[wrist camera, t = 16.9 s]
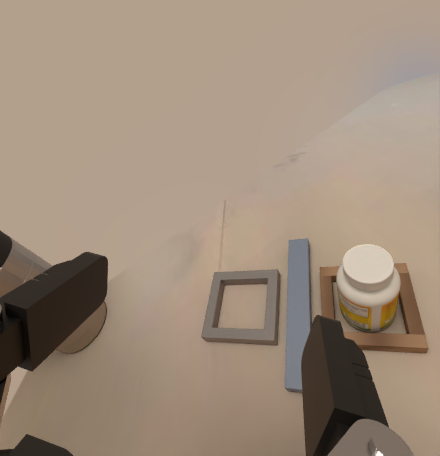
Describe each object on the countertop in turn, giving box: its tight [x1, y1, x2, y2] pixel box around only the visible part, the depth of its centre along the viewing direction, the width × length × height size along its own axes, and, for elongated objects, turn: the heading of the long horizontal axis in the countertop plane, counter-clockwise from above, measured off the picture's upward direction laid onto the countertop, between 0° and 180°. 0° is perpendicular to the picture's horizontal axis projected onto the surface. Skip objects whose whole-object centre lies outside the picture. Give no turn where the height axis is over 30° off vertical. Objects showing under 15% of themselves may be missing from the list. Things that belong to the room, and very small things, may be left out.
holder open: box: [201, 269, 280, 345], centre depth 36 cm, size 9×9×2 cm
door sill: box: [285, 239, 312, 393], centre depth 34 cm, size 18×2×2 cm, turn 170°
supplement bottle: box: [336, 244, 401, 332], centre depth 28 cm, size 5×5×10 cm
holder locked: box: [320, 263, 428, 353], centre depth 31 cm, size 9×9×2 cm
